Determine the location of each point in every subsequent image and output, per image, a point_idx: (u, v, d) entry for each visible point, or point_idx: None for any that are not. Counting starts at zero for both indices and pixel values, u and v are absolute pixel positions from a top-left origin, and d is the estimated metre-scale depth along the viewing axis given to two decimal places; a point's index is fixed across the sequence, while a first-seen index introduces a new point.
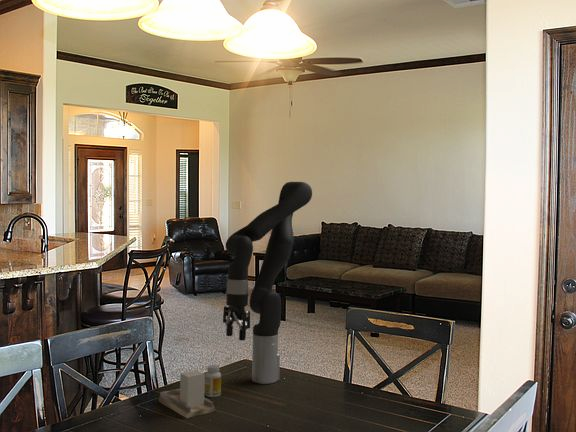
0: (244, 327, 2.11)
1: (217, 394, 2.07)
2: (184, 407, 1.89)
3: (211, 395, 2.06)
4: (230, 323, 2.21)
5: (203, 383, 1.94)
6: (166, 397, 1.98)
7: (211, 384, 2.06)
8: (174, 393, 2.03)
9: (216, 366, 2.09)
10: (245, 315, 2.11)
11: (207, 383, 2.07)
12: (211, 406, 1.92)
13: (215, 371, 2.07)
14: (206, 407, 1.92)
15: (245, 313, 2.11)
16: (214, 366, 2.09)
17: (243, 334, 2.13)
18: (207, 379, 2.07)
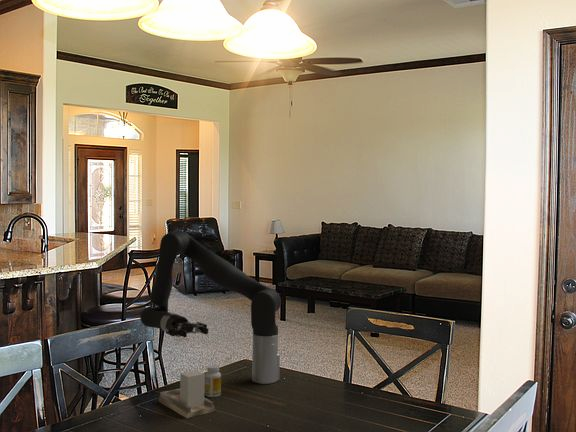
0: (171, 335, 2.16)
1: (217, 394, 2.07)
2: (184, 407, 1.89)
3: (211, 395, 2.06)
4: (200, 328, 2.23)
5: (203, 383, 1.94)
6: (166, 397, 1.98)
7: (211, 384, 2.06)
8: (174, 393, 2.03)
9: (216, 366, 2.09)
10: (166, 332, 2.20)
11: (207, 383, 2.07)
12: (211, 406, 1.92)
13: (215, 371, 2.07)
14: (206, 407, 1.92)
15: (166, 331, 2.20)
16: (214, 366, 2.09)
17: (180, 334, 2.15)
18: (207, 379, 2.07)
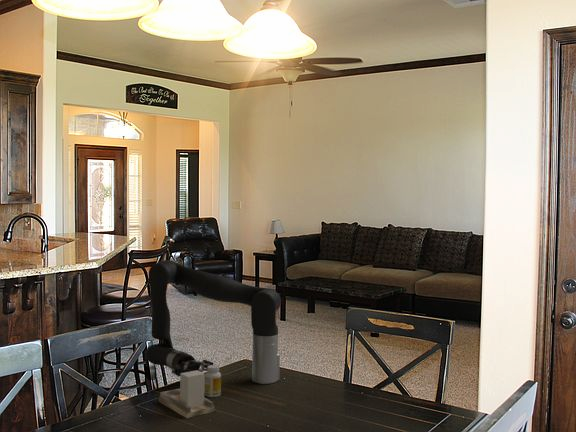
0: (177, 375, 2.13)
1: (217, 394, 2.07)
2: (184, 407, 1.89)
3: (211, 395, 2.06)
4: (206, 367, 2.20)
5: (203, 383, 1.94)
6: (166, 397, 1.98)
7: (211, 384, 2.06)
8: (174, 393, 2.03)
9: (216, 366, 2.09)
10: (172, 371, 2.17)
11: (207, 383, 2.07)
12: (211, 406, 1.92)
13: (215, 371, 2.07)
14: (206, 407, 1.92)
15: (172, 371, 2.17)
16: (214, 366, 2.09)
17: None
18: (207, 379, 2.07)
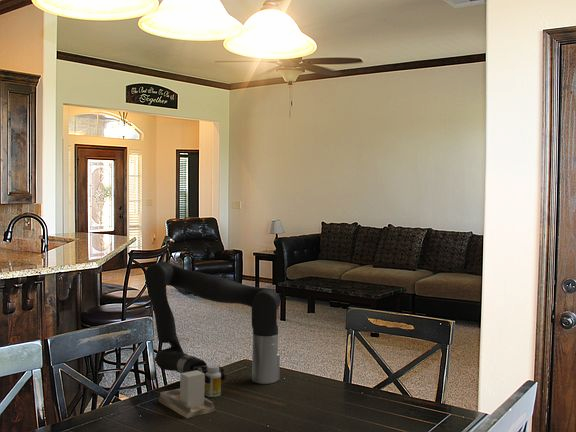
0: None
1: (217, 394, 2.07)
2: (184, 407, 1.89)
3: (211, 395, 2.06)
4: None
5: (203, 383, 1.94)
6: (166, 397, 1.98)
7: (211, 384, 2.06)
8: (174, 393, 2.03)
9: (216, 366, 2.09)
10: None
11: None
12: (211, 406, 1.92)
13: (215, 371, 2.07)
14: (206, 407, 1.92)
15: None
16: (214, 366, 2.09)
17: None
18: None
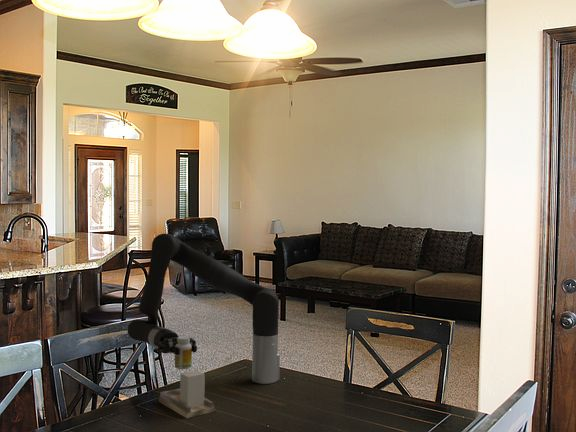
0: (163, 352, 1.98)
1: (187, 366, 1.98)
2: (184, 407, 1.89)
3: (181, 368, 1.97)
4: None
5: (203, 383, 1.94)
6: (166, 397, 1.98)
7: (181, 356, 1.97)
8: (174, 393, 2.03)
9: (186, 337, 2.00)
10: (156, 349, 2.00)
11: (177, 355, 1.98)
12: (211, 406, 1.92)
13: (185, 342, 1.98)
14: (206, 407, 1.92)
15: (154, 348, 2.01)
16: (184, 337, 2.00)
17: (172, 351, 1.97)
18: None
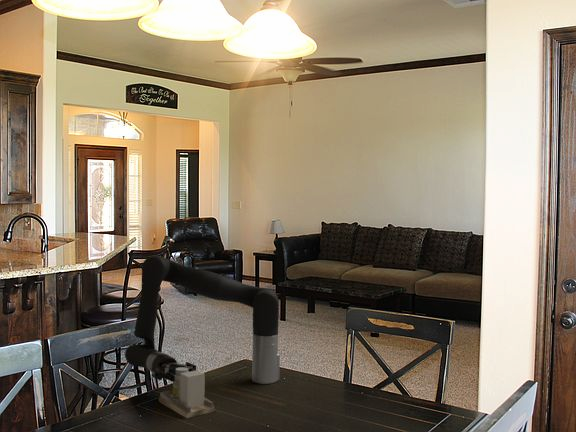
0: (158, 379, 1.97)
1: None
2: (184, 407, 1.89)
3: (179, 399, 1.97)
4: (189, 370, 2.03)
5: (203, 383, 1.94)
6: (166, 397, 1.98)
7: (179, 387, 1.97)
8: None
9: (185, 368, 1.99)
10: (152, 375, 2.00)
11: (175, 386, 1.97)
12: (211, 406, 1.92)
13: None
14: (206, 407, 1.92)
15: None
16: (183, 368, 1.99)
17: (167, 377, 1.96)
18: (175, 382, 1.97)
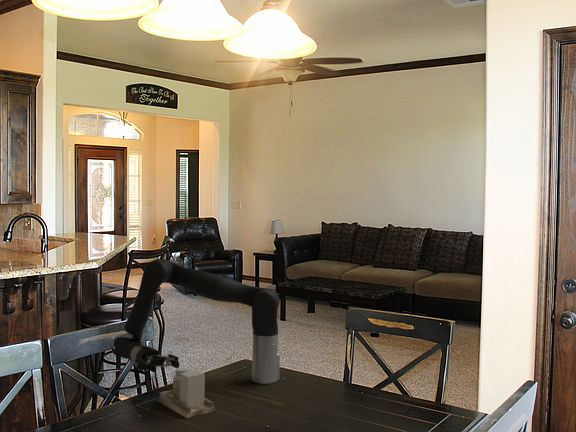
0: (140, 370, 2.06)
1: None
2: (184, 407, 1.89)
3: None
4: (171, 361, 2.13)
5: (203, 383, 1.94)
6: (166, 397, 1.98)
7: (179, 388, 1.96)
8: None
9: (185, 369, 1.99)
10: (135, 366, 2.10)
11: (175, 387, 1.97)
12: (211, 406, 1.92)
13: None
14: (206, 407, 1.92)
15: (135, 365, 2.10)
16: (182, 369, 1.99)
17: (149, 368, 2.05)
18: (175, 382, 1.97)
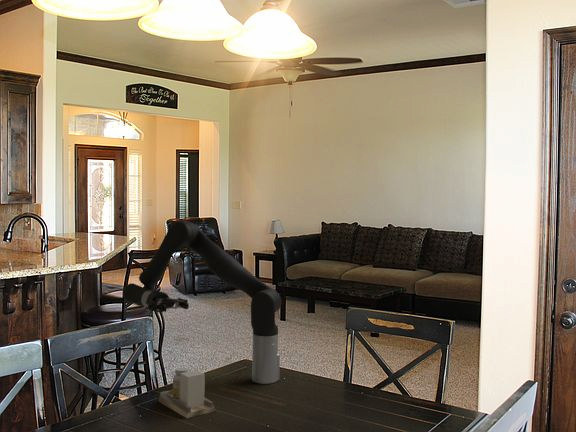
0: (151, 310, 2.16)
1: None
2: (184, 407, 1.89)
3: None
4: (180, 303, 2.22)
5: (203, 383, 1.94)
6: (166, 397, 1.98)
7: (179, 388, 1.97)
8: None
9: (184, 369, 1.99)
10: (146, 307, 2.19)
11: (175, 386, 1.97)
12: (211, 406, 1.92)
13: None
14: (206, 407, 1.92)
15: (146, 307, 2.19)
16: (182, 369, 1.99)
17: (159, 308, 2.14)
18: (175, 382, 1.97)
